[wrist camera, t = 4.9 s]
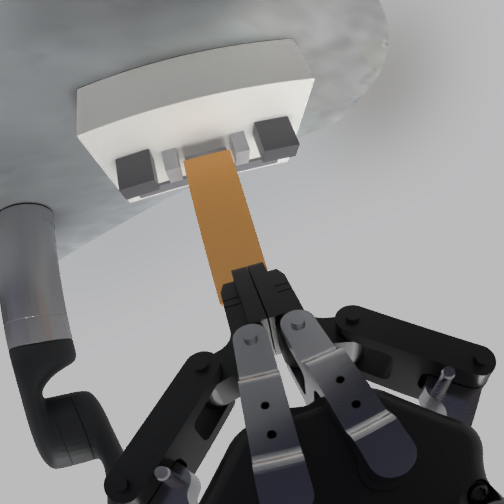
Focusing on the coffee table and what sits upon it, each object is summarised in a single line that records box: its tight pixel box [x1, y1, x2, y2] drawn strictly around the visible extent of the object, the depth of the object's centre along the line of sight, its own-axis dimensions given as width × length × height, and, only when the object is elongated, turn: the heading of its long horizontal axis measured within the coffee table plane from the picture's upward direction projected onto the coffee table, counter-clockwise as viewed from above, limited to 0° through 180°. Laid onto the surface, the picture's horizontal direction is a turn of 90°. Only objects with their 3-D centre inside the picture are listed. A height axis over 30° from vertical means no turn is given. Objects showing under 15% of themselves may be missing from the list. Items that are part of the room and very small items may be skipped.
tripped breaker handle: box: [183, 147, 268, 306], centre depth 26 cm, size 4×2×13 cm, turn 87°
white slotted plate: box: [77, 39, 315, 203], centre depth 27 cm, size 18×14×8 cm
